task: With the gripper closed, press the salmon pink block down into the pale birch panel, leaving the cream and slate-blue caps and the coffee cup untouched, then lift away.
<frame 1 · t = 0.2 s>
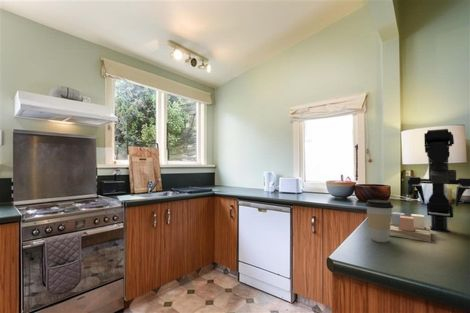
hand: (439, 204, 89), 14 cm above the worktop, fingers open, 9 cm apart
salmon pink block: (406, 223, 99), point 5 cm above the worktop, slide at 0.0 cm
coffee cup: (379, 240, 93), on the worktop
cream button: (417, 221, 103), point 5 cm above the worktop, slide at 0.0 cm
panel: (407, 233, 102), on the worktop
slate-blue button: (398, 219, 108), point 5 cm above the worktop, slide at 0.0 cm
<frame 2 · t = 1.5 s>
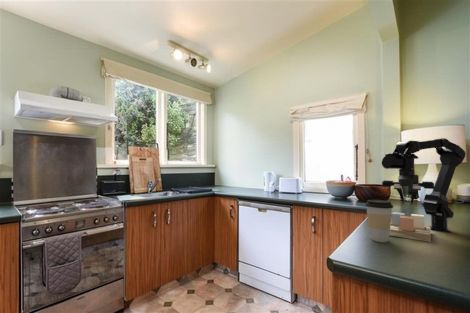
hand: (407, 203, 107), 12 cm above the worktop, fingers open, 3 cm apart
nothing on the worktop moved.
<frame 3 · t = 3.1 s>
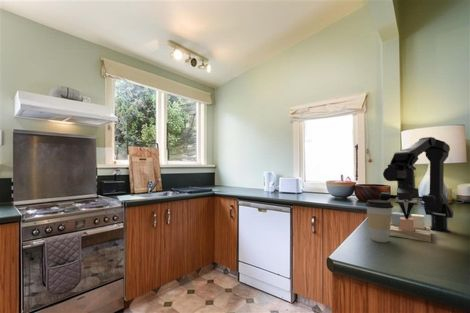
hand: (406, 218, 99), 7 cm above the worktop, fingers closed, pressing on salmon pink block
salmon pink block: (406, 224, 99), point 4 cm above the worktop, slide at 0.6 cm, touching gripper
everything else where it was.
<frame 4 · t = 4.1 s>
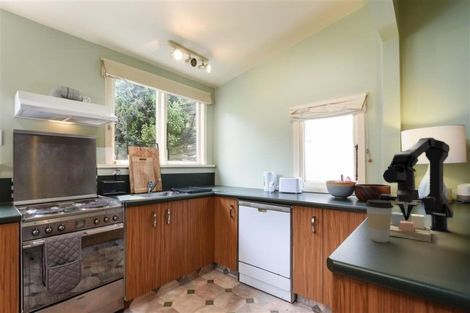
hand: (406, 220, 99), 6 cm above the worktop, fingers closed
salmon pink block: (406, 228, 99), point 3 cm above the worktop, slide at 2.1 cm
everything else where it was.
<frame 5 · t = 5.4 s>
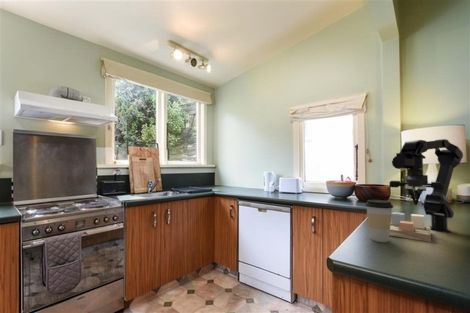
hand: (415, 204, 105), 12 cm above the worktop, fingers closed
nothing on the worktop moved.
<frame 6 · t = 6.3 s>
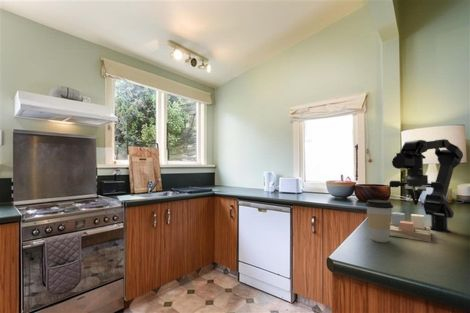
hand: (415, 204, 105), 12 cm above the worktop, fingers closed
nothing on the worktop moved.
at the end: salmon pink block slide at 2.1 cm; cream button slide at 0.0 cm; slate-blue button slide at 0.0 cm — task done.
